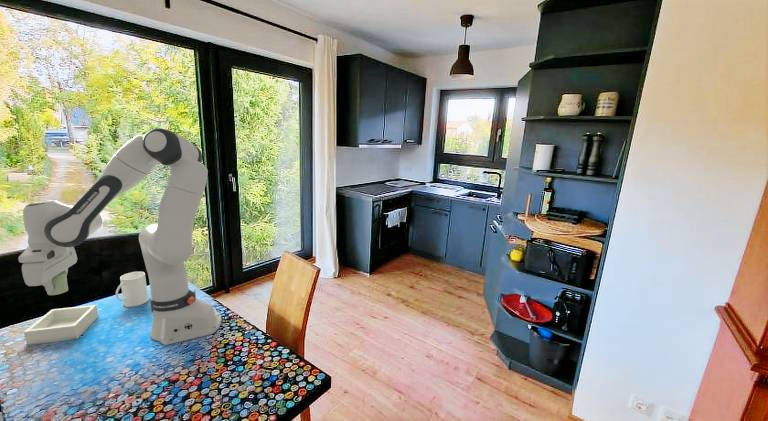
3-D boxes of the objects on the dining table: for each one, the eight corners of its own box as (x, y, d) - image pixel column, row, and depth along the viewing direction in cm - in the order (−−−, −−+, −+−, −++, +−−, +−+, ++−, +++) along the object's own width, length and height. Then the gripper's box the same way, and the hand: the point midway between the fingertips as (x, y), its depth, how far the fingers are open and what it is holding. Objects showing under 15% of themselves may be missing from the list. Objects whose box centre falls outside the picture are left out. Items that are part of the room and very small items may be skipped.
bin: (98, 316, 118) (96, 304, 117) (77, 338, 105) (74, 325, 104) (54, 321, 114) (51, 309, 113) (26, 345, 101) (23, 331, 100)
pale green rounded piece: (53, 289, 108) (50, 273, 106) (71, 287, 109) (68, 271, 108) (43, 295, 103) (40, 279, 102) (62, 294, 105) (59, 278, 104)
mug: (125, 312, 122) (121, 284, 119) (109, 308, 124) (104, 281, 121) (153, 298, 133) (150, 272, 130) (138, 295, 135) (135, 269, 132)
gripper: (57, 238, 111) (64, 274, 114) (13, 260, 92) (22, 301, 96) (79, 238, 113) (85, 272, 116) (41, 258, 95) (49, 299, 98)
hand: (57, 286), depth 106 cm, fingers closed on pale green rounded piece, 5 cm apart
